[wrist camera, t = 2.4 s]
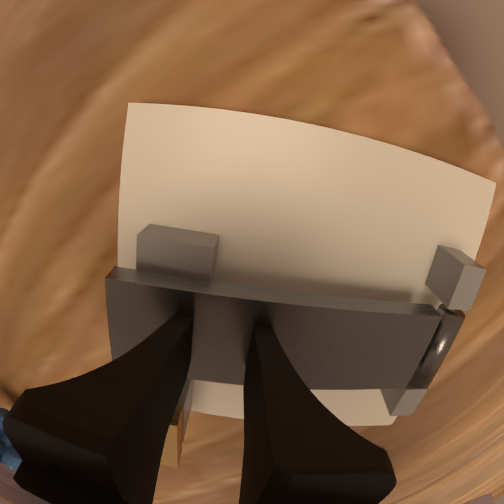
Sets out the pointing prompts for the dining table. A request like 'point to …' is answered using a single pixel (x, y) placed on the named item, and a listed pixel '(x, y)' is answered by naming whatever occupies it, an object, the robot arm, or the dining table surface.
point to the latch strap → (285, 330)
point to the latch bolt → (173, 441)
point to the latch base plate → (297, 224)
